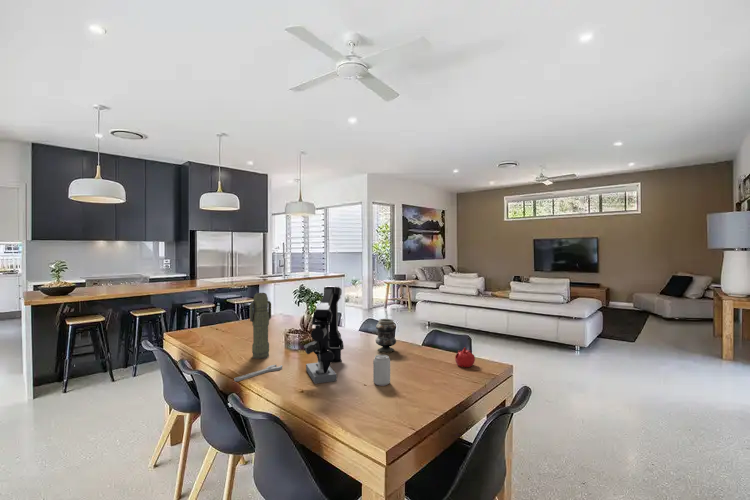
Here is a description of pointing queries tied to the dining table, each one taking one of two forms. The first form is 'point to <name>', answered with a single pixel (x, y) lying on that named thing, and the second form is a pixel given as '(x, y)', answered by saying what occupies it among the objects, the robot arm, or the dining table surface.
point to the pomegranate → (464, 358)
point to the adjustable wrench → (258, 372)
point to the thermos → (260, 325)
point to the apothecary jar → (386, 335)
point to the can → (381, 370)
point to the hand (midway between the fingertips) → (322, 369)
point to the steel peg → (321, 368)
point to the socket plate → (320, 378)
